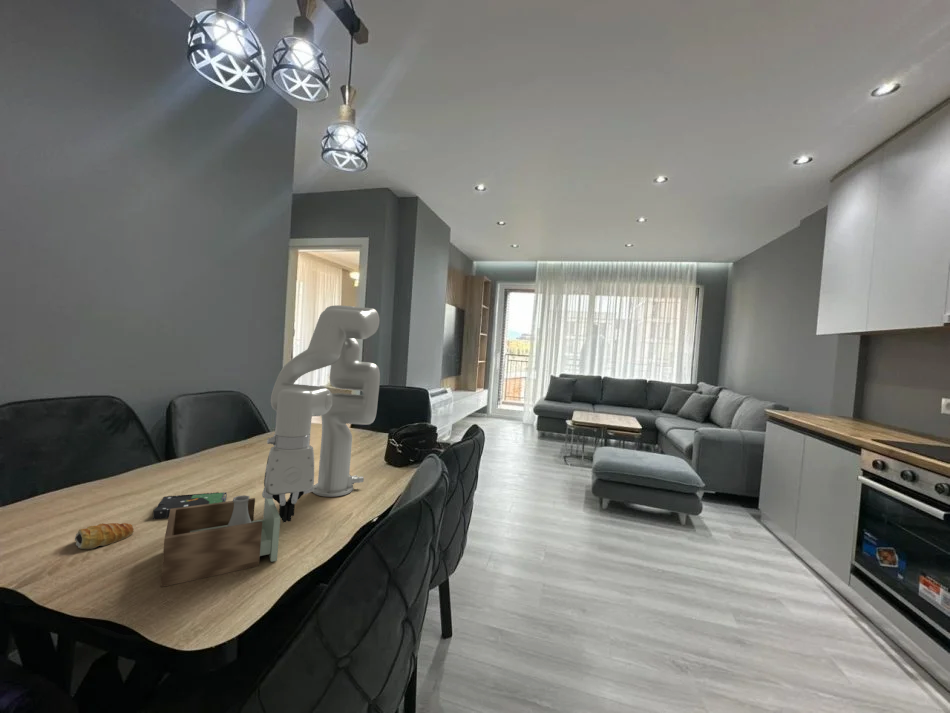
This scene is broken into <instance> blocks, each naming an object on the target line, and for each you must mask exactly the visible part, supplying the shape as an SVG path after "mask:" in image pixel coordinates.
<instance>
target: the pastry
mask: <svg viewBox="0 0 950 713" xmlns="http://www.w3.org/2000/svg"><path fill="white" fill-rule="evenodd" d="M134 532H135V530H134V527H133V524H131V523H128V522H127V523H126V522H122V523H117V522H115V523H114V522H112V523H99V524H97V525H89V526H87V527H86V528H80V529H78V531H77V532H76V534H75V536H74V541H75V546H77V548H78V549H81V550H92V549H96V548H97V547H99V546H102V547H104V546H109V545H110V544H113V543H117V542H120V541H122V540H125V539H127V538H129V537H131V536H132V535H133V534H134Z"/></svg>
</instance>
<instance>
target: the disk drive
mask: <svg viewBox="0 0 950 713" xmlns="http://www.w3.org/2000/svg"><path fill="white" fill-rule="evenodd" d="M227 495H228V494H227V492H219V491H217V492H210V493H209V492H207V493H195V494H194V493H192V494H181V495H179V494H177V495H168V496H163V497H162V499H161V500H160V501H159V503H158V504H157V507H155V508H154V509H153V514H152V519H153V520H160V519H161V520H162V519H168V518H169V513H170V509H173V508H181V507H188V506H196V505H204V504H212V503H220V502H227V497H228V496H227Z"/></svg>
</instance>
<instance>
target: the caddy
mask: <svg viewBox="0 0 950 713" xmlns="http://www.w3.org/2000/svg"><path fill="white" fill-rule="evenodd" d="M255 505H256V498H255V497H253V498H252V497H251V498H249V501H248V513H249V516H250V519H251V521H255V520H254V518H255V517H254V516H255ZM233 509H234V502H233V500H230V501H229V500H228V501H226V502H220V503H212V504H204V505H196V506H188V507H181V508H173V509H170V513H169V518H167V524H166V529H165V535H164V541H163V550H162V551H163V553H162V565H161V579H160V580H161V581H160V588H163V587H167V586H168V587H169V586H172V585H177V584H181V583H186V582H191V581H196V580H200V579H205V578H208V577H214V576H219V575H223V574H228V573H233V572H237V571H238V572H239V571H241V570H246V569H252V568H256V567H259V566H260V557H261V556H260V546H261V533H262V521H259V522H253V523H247V524H241V525H234V526H228V527H222V528H215V529H209V530H203V531H197V532H190V531H192V530H198V529H204V528H211V527H217V526H224V525H228V524H229V521H230V519H231V516H232V513H233Z"/></svg>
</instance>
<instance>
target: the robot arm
mask: <svg viewBox="0 0 950 713" xmlns="http://www.w3.org/2000/svg"><path fill="white" fill-rule="evenodd" d="M379 326H380V315H379V312H378V311H377V310H376V309H375V308H372V307H371V308H370V307H362V306H351V305H340V304H339V305H338V304H336V305H330V306H328V307H326V308H325V309H324V310H323V311H322V312H321V313H320V315H319V317H318V319H317V322H316V325H315V328H314V331H313V334H312V336H311V339H310V342H309V344H308V347H307V349H304V351H302V352H300V353H299V354H297V355H296V356H294V357H293V358H292V359H291V360H290V361H288V362H287V363H286V364H285V365H284V366H283V367H282V369H281V370H280V372H279V373H278V375H277V378H276V380H275V382H274V384H273V388H272V392H271V396H270V406H271V408H272V410H274V411H275V412H276V416H275V429H274V430H275V432H274V434H273V436H271V437H267V440H266V444H268V445H270V444H271V445H273V446H271V447H270V450H269V453H268V457H267V460H266V465H265V472H264V480H263V487H264V488H263V491H262V493H261V495H262V496H261V497H262V498H263V499H265V498H268V499H273V501H275V502H277V503H278V504H279V506H278V507H279V508H278V513H279V515H280V520H281V521H282V523H287V522H288V523H290V522H292V517H294V516H295V506H296V504H297V502H298V500H299V499H300V498H302V496H303V495H306V494H307V495H308V494H309V493H310V494H311V493H313V494H314V495H316V496H320V497H326V498H327V497H329V498H332V497H333V498H334V497H341V496H345V495H349V494H350V493H351V492H353V491H354V484H357V483H363V482H364V480H365V479H364V476H361V475H360V476H358V475H351V473H350V471H351V459H352V458H351V457H352V449H353V448H352V446H353V445H352V444H353V433H352V432H351V429H350V427H349V426H348V425H351V424H352V425H361V426H362V425H365V426H366V425H371V424H373V423H374V421H375V419H376V417H377V411H378V403H379V402H378V401H379V393H380V383H381V382H380V381H381V373H380V372H381V371H380V368H379V366H378V365H377V364H376V363H373V362H368V361H360V350H361V347H360V344H359V341H358V340H366V339H368V338H370V337H372V336H373V335H375V334H376V333H377V331H378V329H379ZM329 366H330V371H329V383H330V385H331V387H333V388H335V389H339V390H346V391H347V390H351V391H361V392H362V394H356V393H355V394H354V393H353V394H352V393H341V392H340V393H339V392H335V393H334V392H333V393H332V392H331V390H330V389H328V388H327V387H324V386H319V385H309V384H299V383H298V384H296V381H297V380H298V379H299V378H301V377H302V376H304V375H306V374H309V373H310V372H313V371H316V370H320V369H323V368H326V367H329ZM312 417H321V437H320V438H321V439H320V441H321V442H320V452H319V464H318V465H319V466H318V476H317V482H316V483H315V453H314V446H312V445H310V443H311V442H310V441H311V429H312V428H311V427H312ZM286 494H289V498H288V499H287V500H286Z"/></svg>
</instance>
